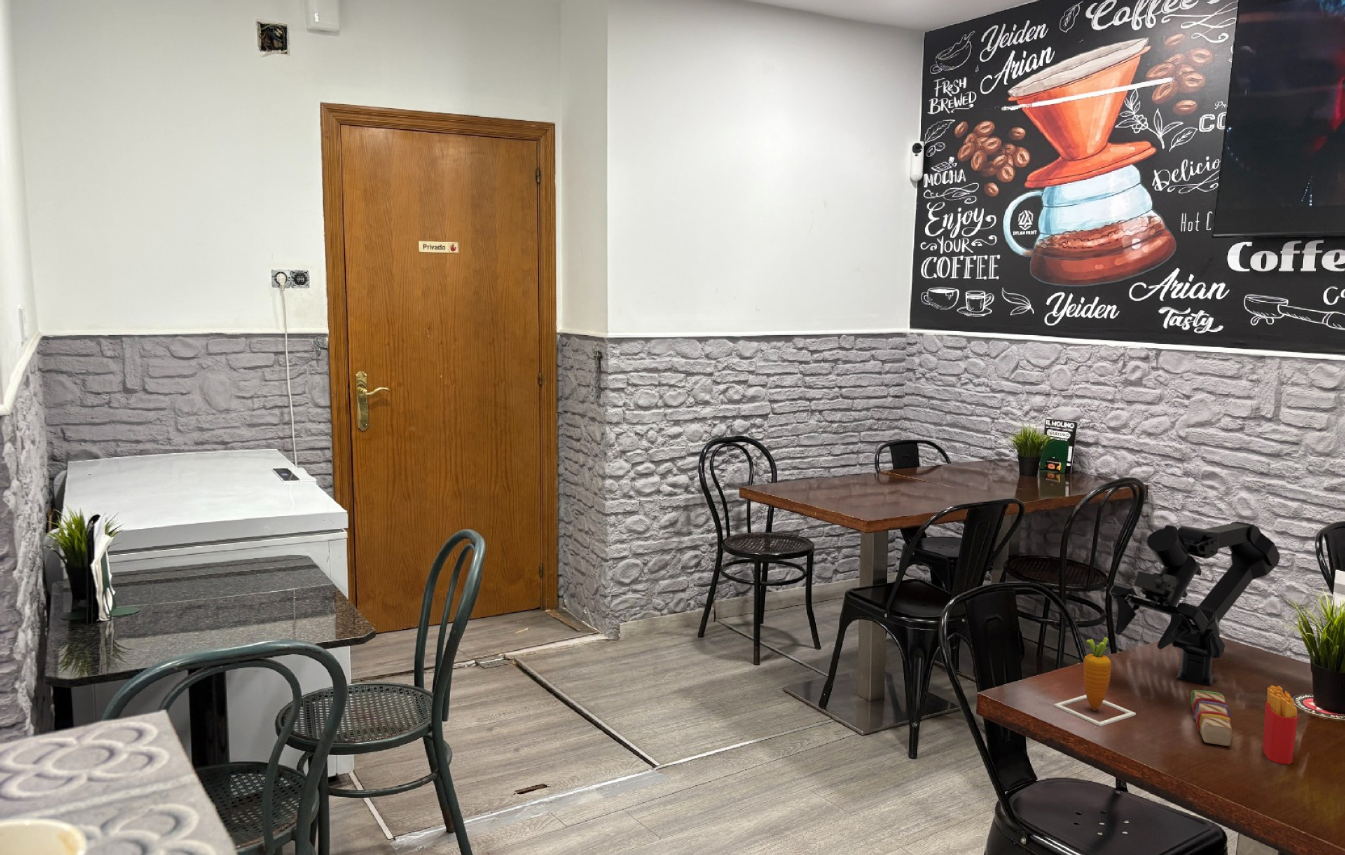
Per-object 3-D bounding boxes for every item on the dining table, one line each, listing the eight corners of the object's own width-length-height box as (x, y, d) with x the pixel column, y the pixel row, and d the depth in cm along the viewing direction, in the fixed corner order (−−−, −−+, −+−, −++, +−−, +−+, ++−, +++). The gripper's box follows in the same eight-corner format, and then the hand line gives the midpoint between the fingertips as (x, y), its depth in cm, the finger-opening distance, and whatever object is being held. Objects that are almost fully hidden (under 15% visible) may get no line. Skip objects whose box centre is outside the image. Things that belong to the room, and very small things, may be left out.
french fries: (1296, 767, 167) (1302, 702, 166) (1270, 764, 168) (1276, 699, 167) (1282, 746, 175) (1288, 683, 174) (1257, 743, 176) (1263, 680, 175)
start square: (1088, 695, 197) (1088, 693, 197) (1135, 715, 188) (1135, 713, 188) (1053, 706, 192) (1054, 704, 192) (1100, 726, 183) (1100, 724, 183)
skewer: (1237, 751, 173) (1239, 725, 173) (1197, 745, 176) (1199, 719, 175) (1223, 707, 192) (1225, 683, 192) (1186, 702, 195) (1188, 678, 194)
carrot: (1079, 712, 189) (1084, 639, 187) (1081, 703, 193) (1086, 631, 191) (1107, 718, 187) (1112, 643, 185) (1108, 708, 191) (1113, 636, 189)
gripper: (1116, 546, 202) (1080, 606, 199) (1203, 567, 186) (1165, 633, 183) (1138, 576, 208) (1102, 635, 204) (1224, 600, 192) (1187, 664, 188)
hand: (1137, 641), depth 194 cm, fingers open, 9 cm apart
